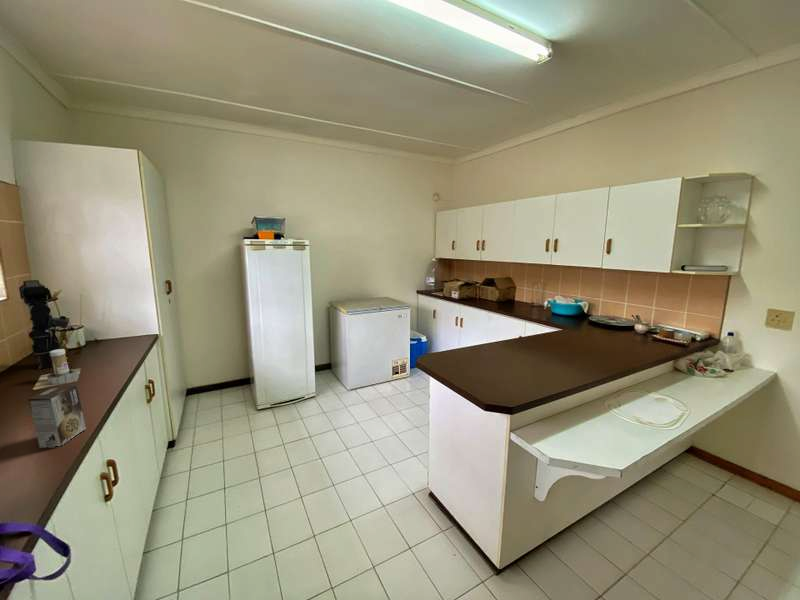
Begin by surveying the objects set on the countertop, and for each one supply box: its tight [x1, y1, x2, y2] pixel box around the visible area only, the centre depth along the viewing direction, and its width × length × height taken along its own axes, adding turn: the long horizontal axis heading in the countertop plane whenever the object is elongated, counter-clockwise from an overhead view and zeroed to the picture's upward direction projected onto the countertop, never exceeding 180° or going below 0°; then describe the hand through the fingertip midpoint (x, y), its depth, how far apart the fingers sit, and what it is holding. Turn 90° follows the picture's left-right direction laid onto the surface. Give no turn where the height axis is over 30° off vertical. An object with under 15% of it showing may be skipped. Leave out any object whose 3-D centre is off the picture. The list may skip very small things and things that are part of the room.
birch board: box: [32, 368, 82, 390], centre depth 144 cm, size 18×13×1 cm
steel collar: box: [47, 368, 79, 385], centre depth 142 cm, size 9×9×3 cm
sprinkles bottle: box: [50, 348, 70, 377], centre depth 141 cm, size 5×5×14 cm
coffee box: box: [28, 384, 87, 449], centre depth 101 cm, size 9×6×16 cm
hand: (47, 347), depth 147 cm, fingers open, 9 cm apart
